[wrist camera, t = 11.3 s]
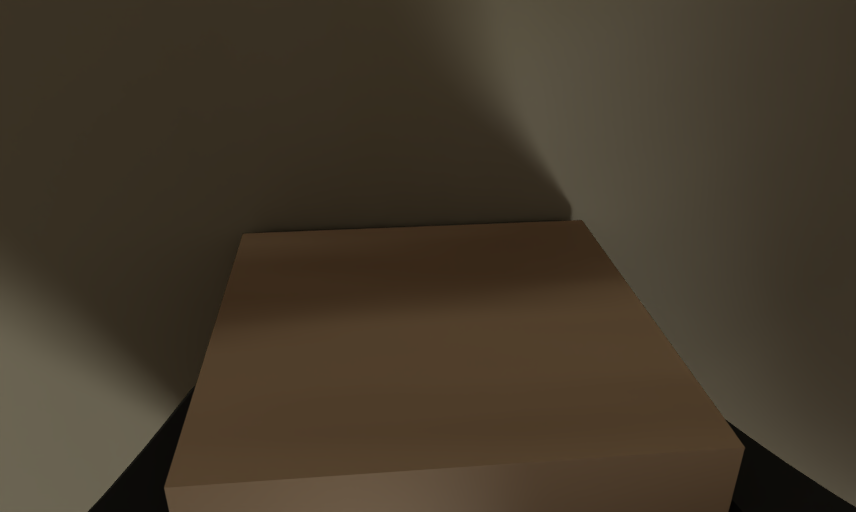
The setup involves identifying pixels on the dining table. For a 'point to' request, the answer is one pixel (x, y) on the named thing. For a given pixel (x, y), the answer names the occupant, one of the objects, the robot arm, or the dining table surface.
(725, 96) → the dining table surface
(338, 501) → the tan cube
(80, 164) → the dining table surface
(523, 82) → the dining table surface
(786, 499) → the robot arm
